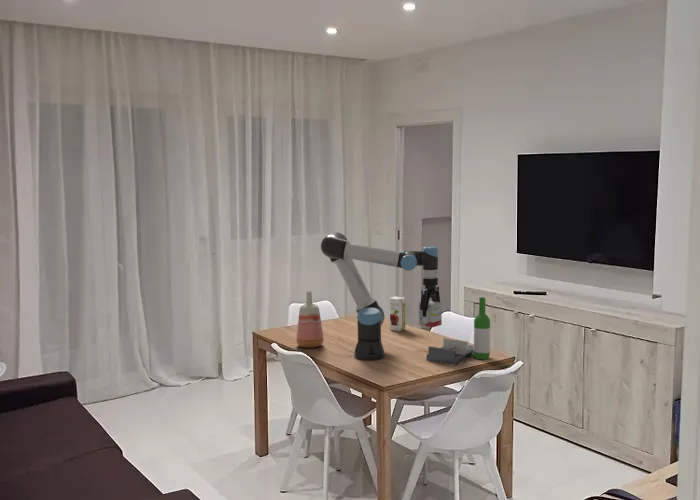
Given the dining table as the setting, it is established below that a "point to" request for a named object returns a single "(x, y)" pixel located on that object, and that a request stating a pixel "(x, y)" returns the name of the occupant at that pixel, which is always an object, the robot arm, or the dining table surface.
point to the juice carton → (397, 313)
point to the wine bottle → (481, 333)
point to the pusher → (456, 345)
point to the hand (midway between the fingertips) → (430, 321)
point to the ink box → (432, 314)
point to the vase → (309, 325)
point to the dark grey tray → (448, 355)
